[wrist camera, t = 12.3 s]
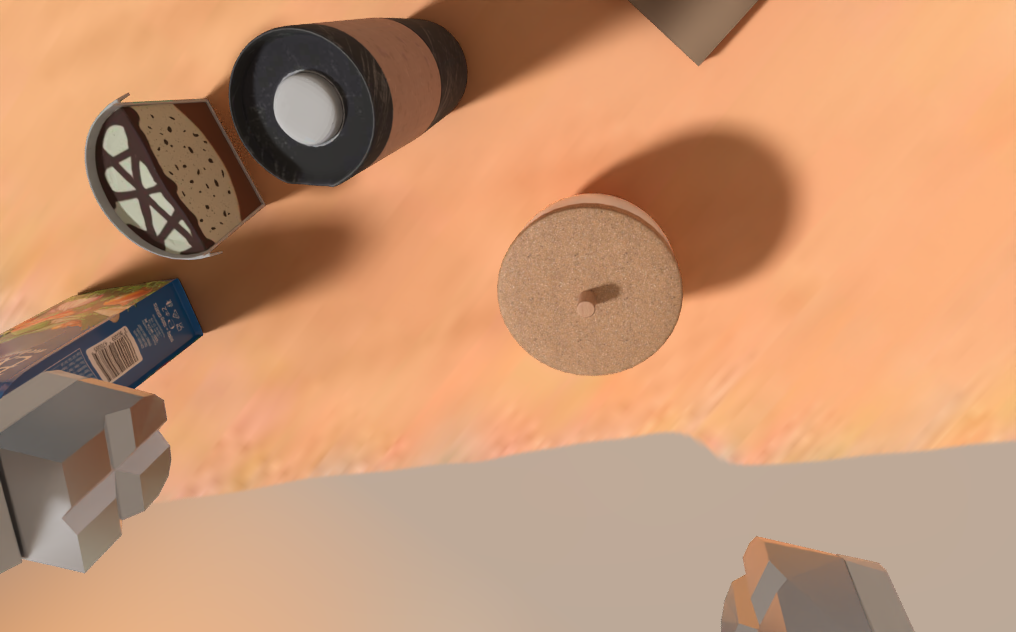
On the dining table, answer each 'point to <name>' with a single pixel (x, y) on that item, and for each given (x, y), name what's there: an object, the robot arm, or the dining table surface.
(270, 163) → the travel mug
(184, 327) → the blue food package
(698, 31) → the base plate
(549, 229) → the lidded bowl
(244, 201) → the food container
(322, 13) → the dining table surface
